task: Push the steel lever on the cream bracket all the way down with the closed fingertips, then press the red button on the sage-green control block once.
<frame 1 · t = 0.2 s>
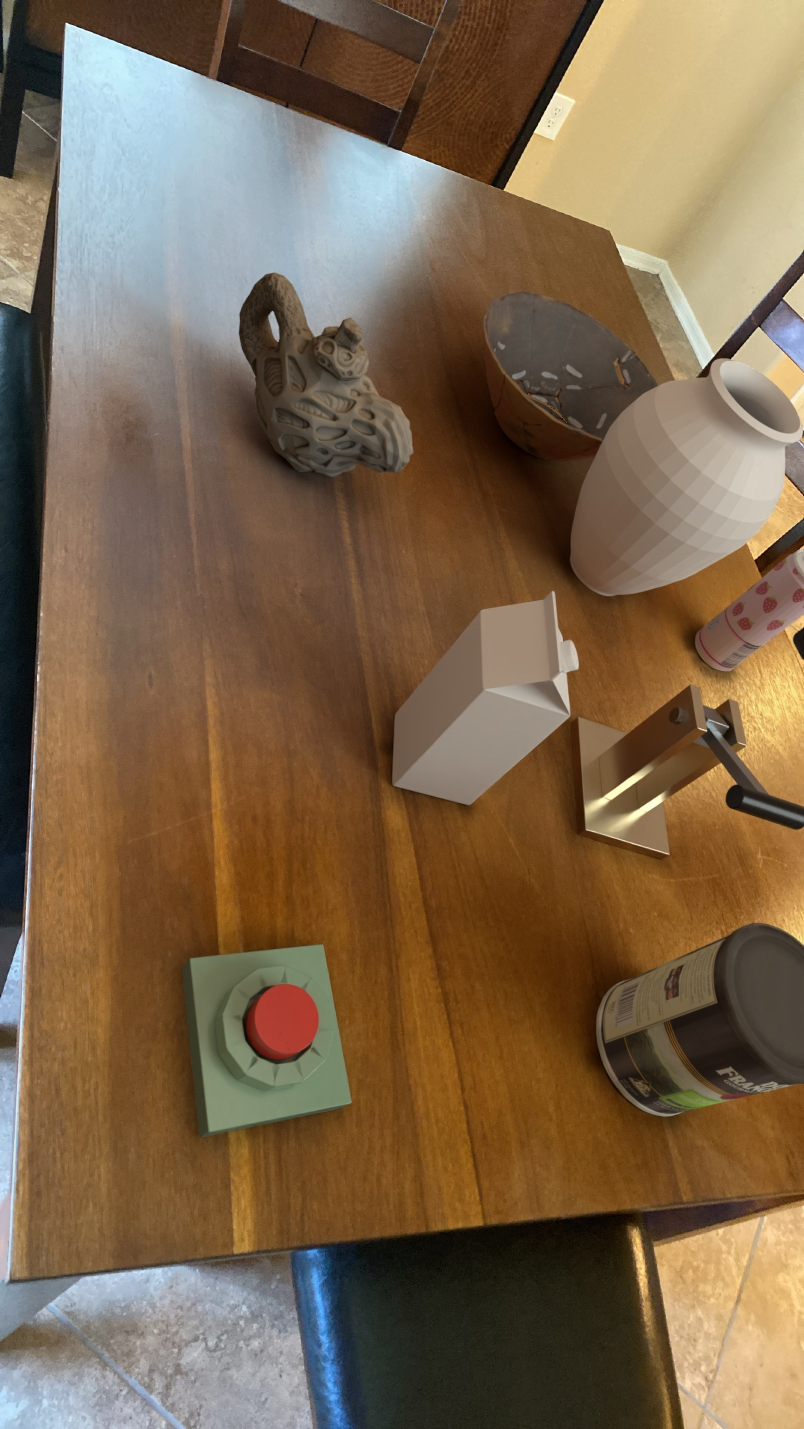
lever bracket: (615, 789, 81), on the table
beverage can: (711, 653, 99), on the table
milk carton: (429, 761, 73), on the table
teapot: (295, 448, 86), on the table
coffee can: (648, 1045, 68), on the table
vase: (595, 571, 97), on the table
toaster lever: (731, 761, 67), point 14 cm above the table, hinge at 25.0°
start button: (282, 1021, 52), point 4 cm above the table, slide at 0.1 cm
bowl: (531, 430, 107), on the table
button block: (260, 1038, 55), on the table
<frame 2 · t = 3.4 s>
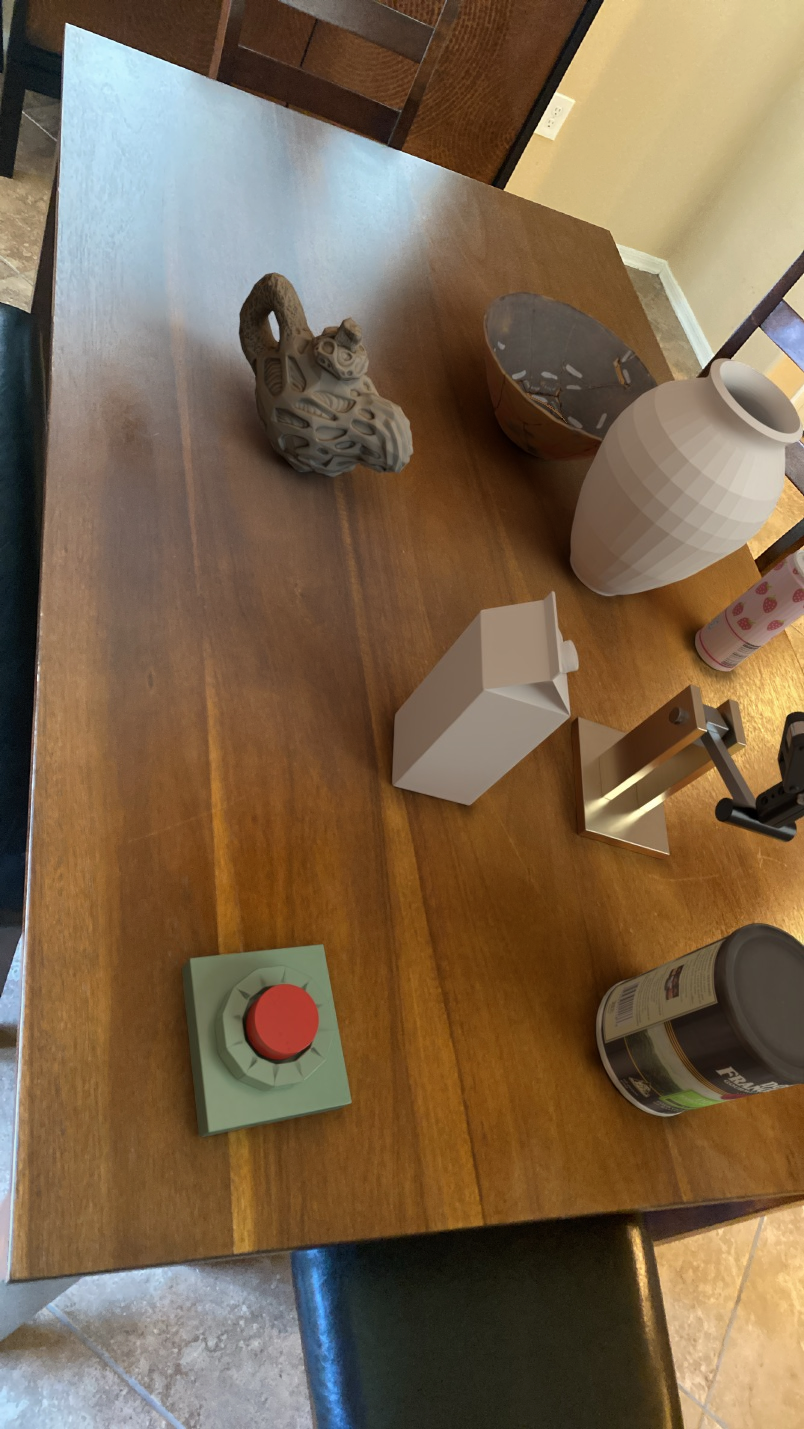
hand: (765, 814, 62), 16 cm above the table, tool pointing down, fingers closed
toaster lever: (726, 767, 67), point 14 cm above the table, hinge at 18.2°, touching gripper
everything else where it was.
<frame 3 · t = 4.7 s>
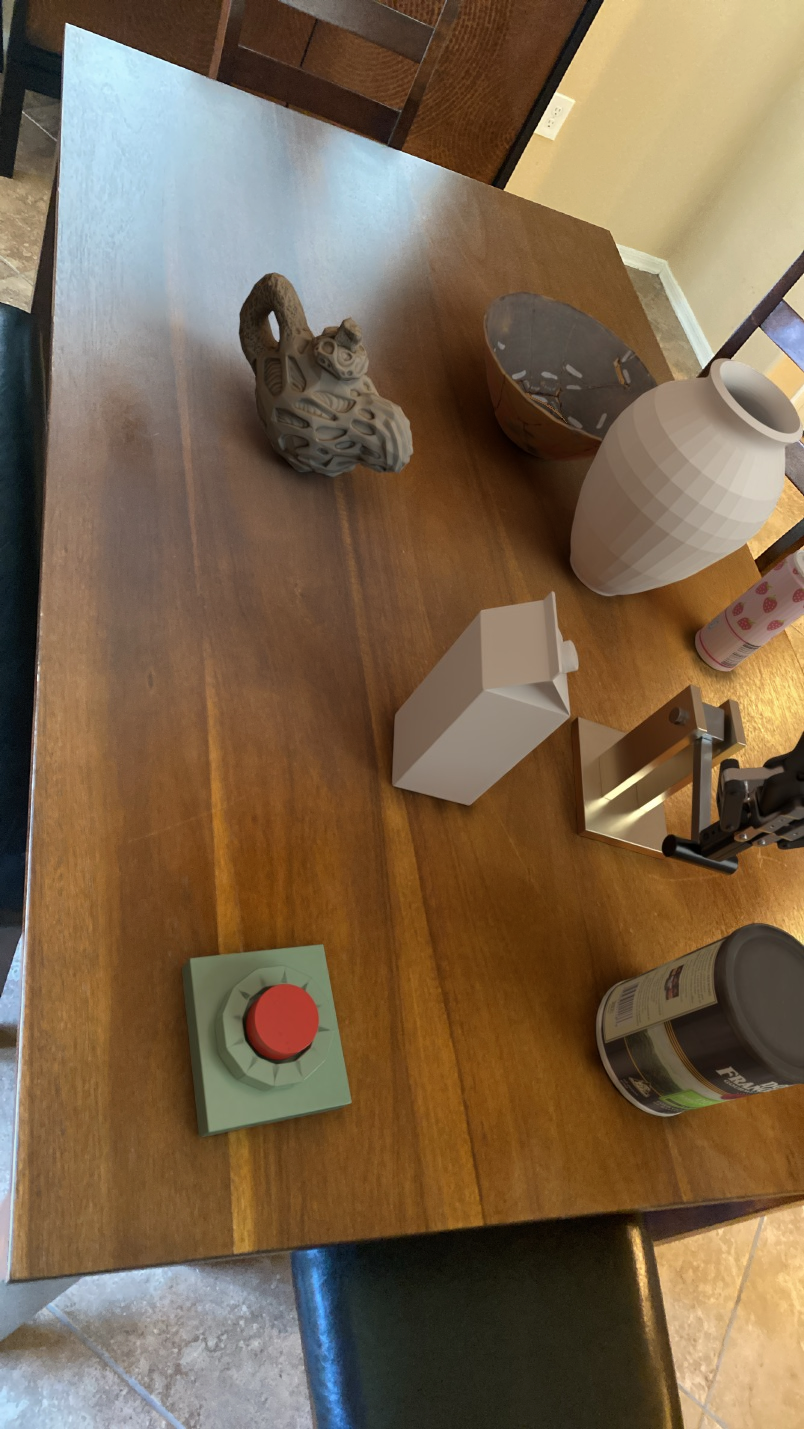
hand: (708, 848, 67), 10 cm above the table, tool pointing down, fingers closed
toaster lever: (701, 785, 69), point 11 cm above the table, hinge at -13.4°, touching gripper
everything else where it was.
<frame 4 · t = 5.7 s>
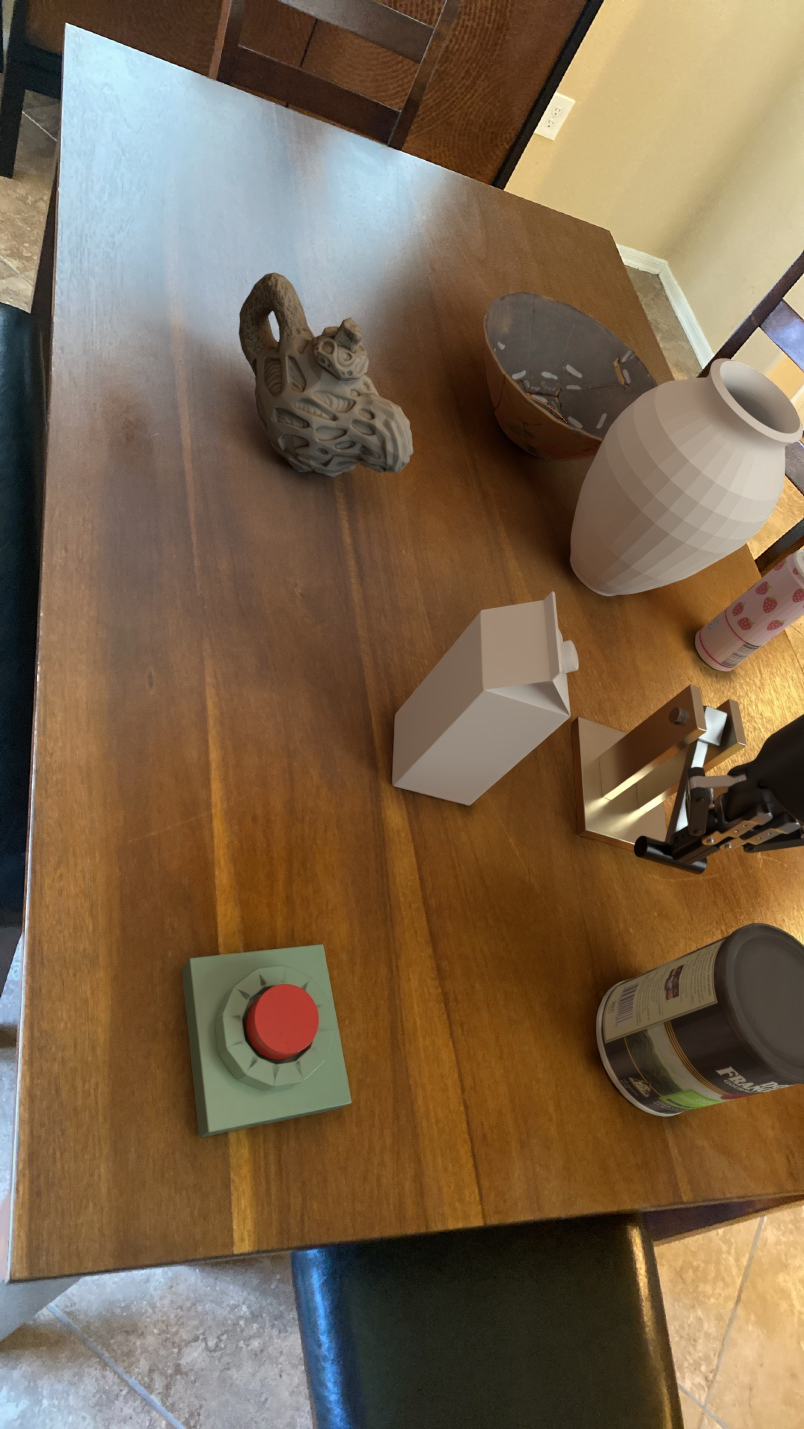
hand: (678, 851, 70), 7 cm above the table, tool pointing down, fingers closed
toaster lever: (687, 786, 71), point 9 cm above the table, hinge at -31.7°, touching gripper
everything else where it was.
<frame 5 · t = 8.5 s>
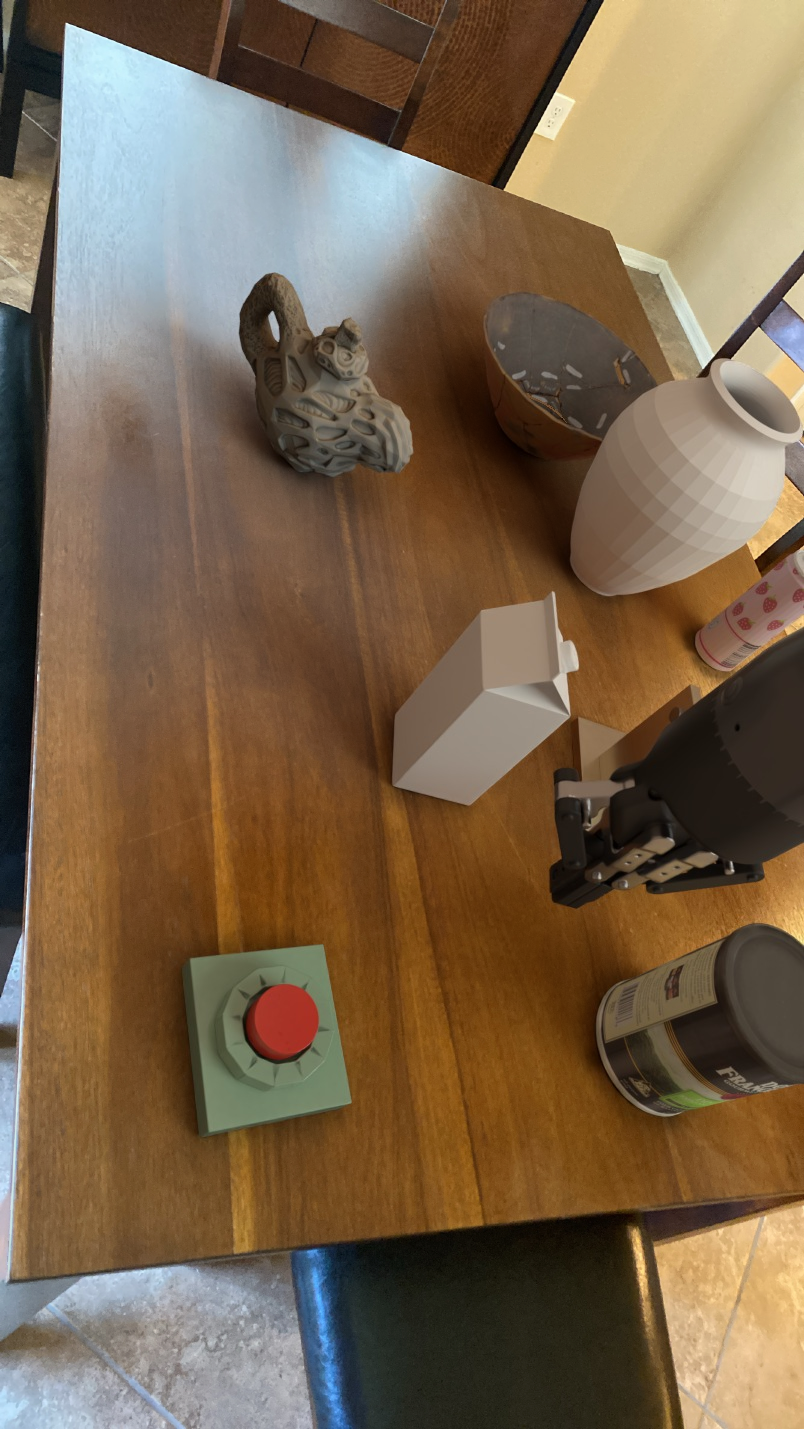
hand: (562, 890, 50), 17 cm above the table, tool pointing down, fingers closed
toaster lever: (688, 787, 71), point 9 cm above the table, hinge at -30.5°
everything else where it was.
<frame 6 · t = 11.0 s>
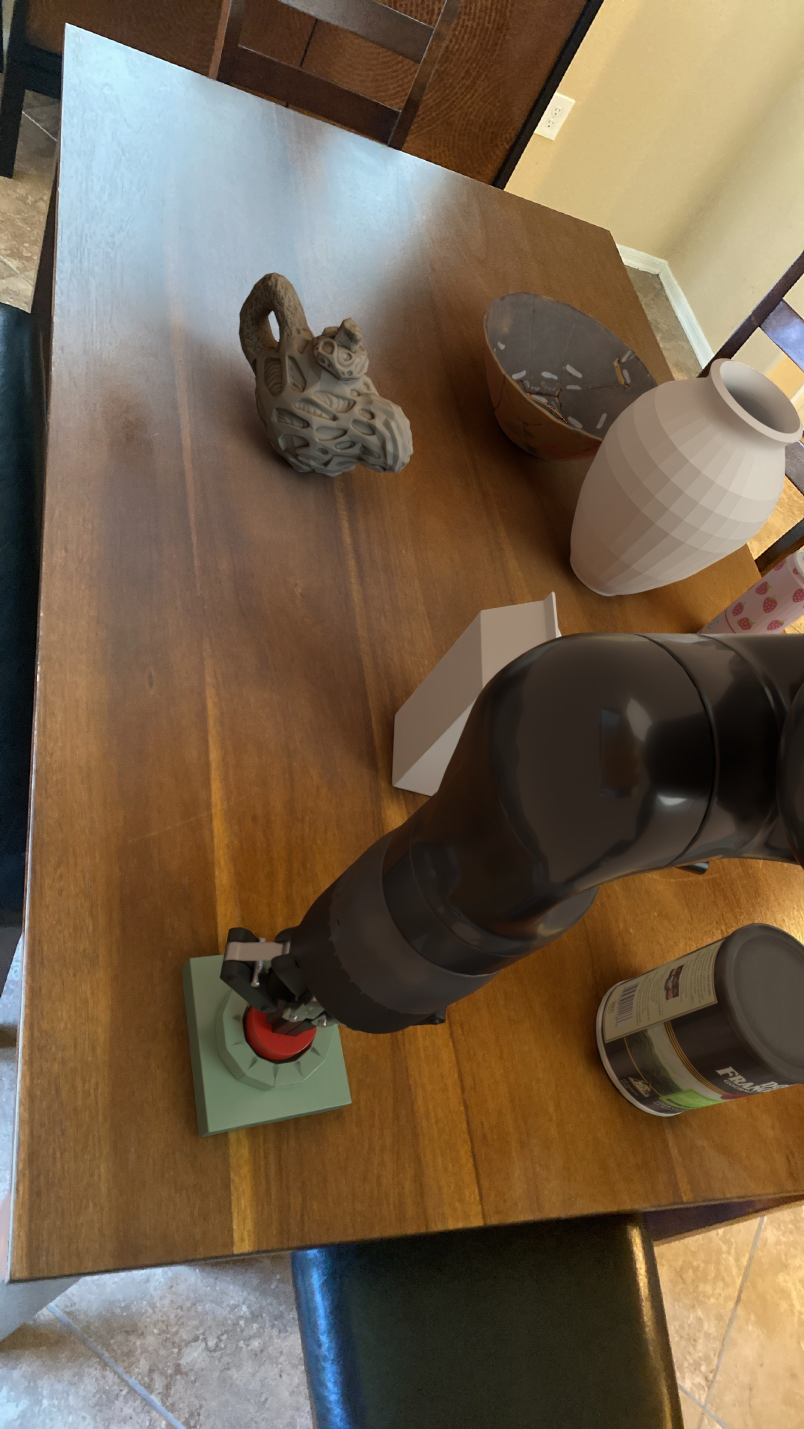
hand: (285, 1017, 51), 5 cm above the table, tool pointing down, fingers closed
start button: (281, 1022, 52), point 4 cm above the table, slide at -0.2 cm, touching gripper
everything else where it was.
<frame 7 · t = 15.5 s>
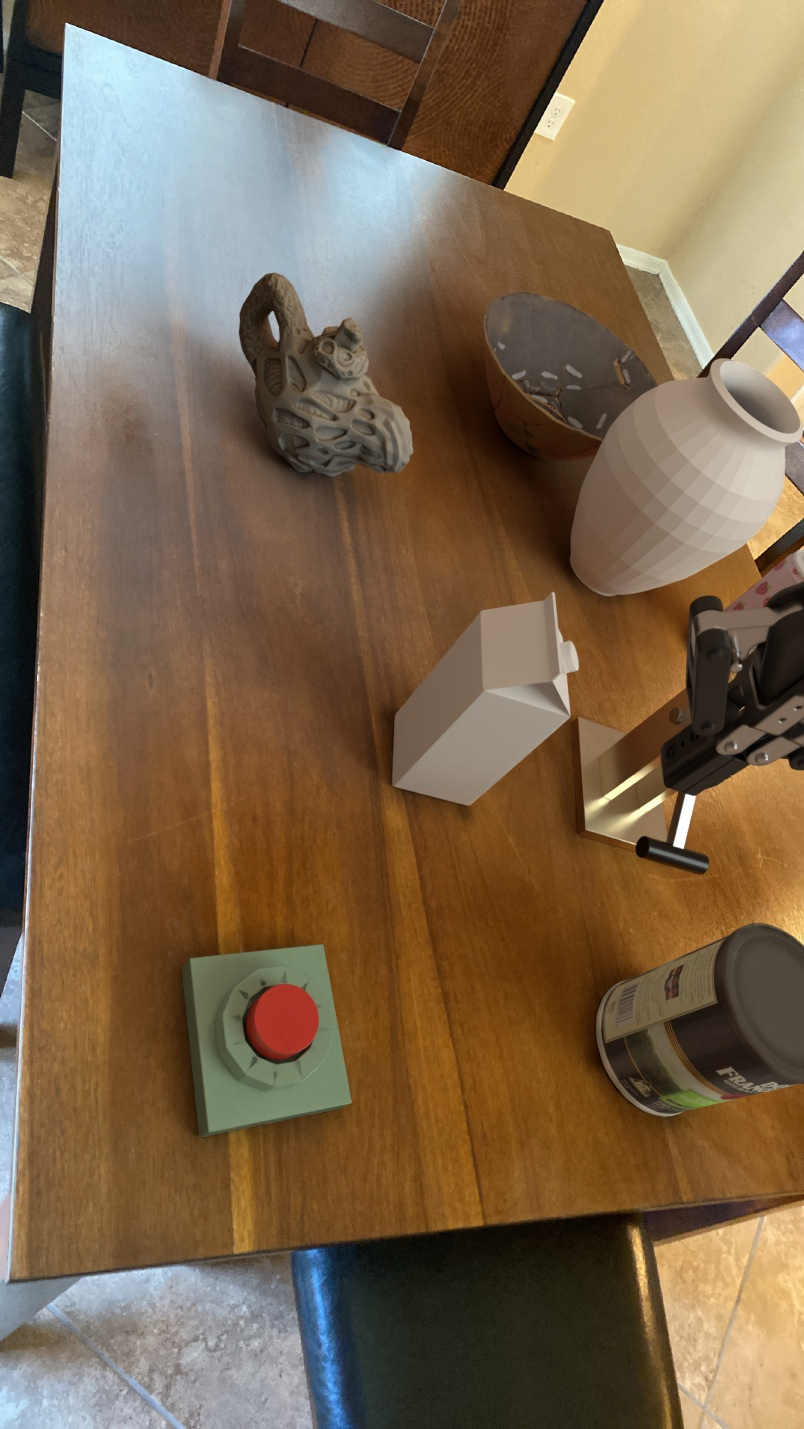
hand: (675, 775, 41), 29 cm above the table, tool pointing down, fingers closed
start button: (282, 1021, 52), point 4 cm above the table, slide at 0.1 cm
everything else where it was.
at the end: toaster lever at -30° (first picture: +25°); start button pushed in 1.1 cm at the most during the clip, back to where it started at the end; start button slide at 0.1 cm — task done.
